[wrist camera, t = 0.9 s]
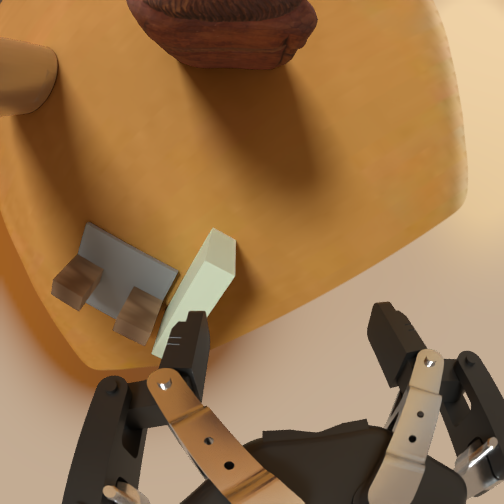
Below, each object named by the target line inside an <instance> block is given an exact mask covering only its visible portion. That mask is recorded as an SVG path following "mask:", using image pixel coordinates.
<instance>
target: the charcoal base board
mask: <svg viewBox="0 0 504 504" xmlns="http://www.w3.org/2000/svg"><path fill="white" fill-rule="evenodd" d="M78 254H79V255H80V256H82V257H84V258H85V259H87V260H89V261H90V262H92V263H94V264H95V265H97V266H99V267H101V268H102V269H104V270H103V273H102V276H101V279H100V283H99V284H98V285H97V287H96V288H95V290H94V291H93V292H92V294H91V295H90V297H89V298H88V299H87V301H86V303H87V304H89V305H91V306H93V307H94V308H96V309H98V310H100V311H101V312H103V313H105V314H107V315H109V316H111V317H112V318H114V319H117V317H118V315H119V313H120V311H121V309H122V307H123V305H124V303H125V302H126V300H127V298H128V296H129V294H130V292H131V291H132V289H133V287H134V286H135V287H137V288H139V289H141V290H143V291H145V292H147V293H149V294H150V295H152V296H154V297H156V298H158V299H160V300H162V301H163V300H164V298H165V296H166V294H167V292H168V290H169V288H170V286H171V284H172V282H173V281H174V279H175V277H176V275H177V273H178V270H176V269H174V268H172V267H170V266H168V265H166V264H164V263H163V262H161V261H159V260H157V259H155V258H153V257H151V256H149V255H148V254H146V253H144V252H142V251H140V250H138V249H136V248H135V247H133V246H131V245H129V244H127V243H125V242H124V241H122V240H120V239H118V238H117V237H115V236H113V235H111V234H109V233H108V232H106V231H104V230H102V229H101V228H99V227H97V226H95V225H94V224H92V223H90V222H87V223H86V226H85V230H84V233H83V237H82V240H81V244H80V248H79V251H78Z"/></svg>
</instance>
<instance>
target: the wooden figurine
mask: <svg viewBox="0 0 504 504" xmlns="http://www.w3.org/2000/svg"><path fill="white" fill-rule="evenodd" d="M126 1H127V4H128V7H129V9H130V11H131V12H132V14H133V16H134V17H135V19H136V20H137V22H138V24H139V25H140V26H141V27H142V29H143V30H144V31H145V33H146V34H147V35H148V36H149V37H150V38H151V39H152V40H154V41H155V42H156V43H157V44H158V45H159V46H160V47H161V48H163V49H164V50H165V51H166V52H167V53H168V54H170V55H171V56H173V57H174V58H176V59H177V60H178V61H180V62H182V63H184V64H187V65H190V66H193V67H197V68H242V69H273V68H275V67H279V66H281V65H284V64H286V63H287V62H288V61H290V60H291V59H292V58H293V56H294V55H295V53H296V51H297V49H300V48H302V47H303V46H304V45H305V44H306V41H307V39H308V37H309V36H310V35H311V33H312V32H313V30H314V29H315V27H316V24H317V20H318V19H317V16H316V13H315V10H314V8H313V7H312V5H311V4H310V3H309V2H308V1H307V0H126Z"/></svg>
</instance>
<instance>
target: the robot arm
mask: <svg viewBox="0 0 504 504" xmlns="http://www.w3.org/2000/svg"><path fill="white" fill-rule="evenodd" d="M57 67H58V65H57V58H56V55H55V53H54V52H53V50H51V49H50V48H48V47H44V46H40V45H36V44H32V43H28V42H23V41H18V40H13V39H7V38H1V37H0V117H1V116H9V115H18V114H27V113H31V112H33V111H35V110H36V109H37V108H39V107H40V106H41V105H42V104H43V103H44V102H45V100H46V99H47V97H48V96H49V94H50V92H51V90H52V88H53V85H54V83H55V80H56V75H57ZM367 335H368V339H369V342H370V344H371V346H372V348H373V350H374V352H375V355H376V357H377V359H378V361H379V364H380V366H381V368H382V370H383V373H384V375H385V377H386V380H387V382H388V384H389V387H390V388H392V387H397V386H399V388H400V391H399V392H398V394H397V398H396V400H395V403H394V405H393V408H392V411H391V413H390V415H389V418H388V420H387V422H386V424H385V426H384V428H382V427H378V426H370V425H368V422H367V419H363V420H359V421H353V422H347V423H342V424H340V425H337V426H335V427H332V428H329V429H327V430H324V431H322V432H317V433H315V432H304V431H296V430H278V431H277V430H276V431H263V438H259V439H256V440H253V441H250V442H248V443H246V444H244V445H243V446H242V445H241V444H240V443H239V442H238V441H237V440H236V439H235V437H234V436H233V435H232V434H231V433H230V432H229V431H228V429H227V428H226V427H225V426H224V425H223V424H222V422H221V421H220V420H219V419H218V418H217V417H216V415H215V414H214V413H213V412H212V411H211V409H210V408H208V407H207V406H205V407H204V406H203V405H202V404H201V402H202V396H203V389H204V383H205V376H206V369H207V362H208V356H209V350H210V334H209V328H208V322H207V316H206V312H205V311H189V312H188V316H187V319H186V321H178V322H177V323H176V325H175V326H174V327H173V328H172V329H171V332H170V335H169V338H168V341H167V345H166V347H165V350H164V353H163V357H162V360H161V363H160V366H159V369H158V370H156V371H154V372H153V373H151V374H150V376H149V377H148V379H147V380H144V381H139V382H133V383H127V382H126V381H125V379H123V378H122V377H119V376H109V377H106V378H104V379H103V380H101V382H100V383H99V384H98V386H97V388H96V391H95V393H94V396H93V399H92V402H91V404H90V407H89V410H88V413H87V416H86V419H85V422H84V425H83V428H82V431H81V434H80V437H79V440H78V444H77V447H76V450H75V453H74V457H73V461H72V464H71V468H70V471H69V475H68V479H67V483H66V488H65V492H64V496H63V501H62V504H150V502H149V500H148V498H147V497H146V496H145V495H144V494H142V493H141V492H139V491H138V484H139V477H140V470H141V463H142V457H143V451H144V446H145V440H146V434H147V429H148V428H151V427H157V426H163V425H168V427H169V428H170V430H171V431H172V433H173V434H174V436H175V437H176V439H177V440H178V442H179V444H180V445H181V446H182V448H183V449H184V451H185V452H186V454H187V455H188V457H189V458H190V460H191V461H192V463H193V464H194V465H195V467H196V468H197V469H198V471H199V472H200V473H201V475H202V476H203V477H204V479H205V481H204V482H203V483H202V484H201V485H200V486H199V487H198V488H197V489H196V490H195V491H194V492H192V493H191V494H190V495H189V496H188V497H187V498H186V499H184V500H183V501H182V502H181V503H180V504H466V500H467V499H469V498H471V497H478V496H480V495H482V494H484V493H486V492H487V491H489V490H490V489H492V488H494V487H495V486H497V485H498V484H500V483H501V482H503V481H504V399H503V397H502V395H501V394H500V392H499V390H498V388H497V386H496V384H495V382H494V381H493V379H492V377H491V376H490V374H489V372H488V371H487V369H486V367H485V366H484V364H483V363H482V361H481V359H480V358H479V356H477V355H476V354H475V353H473V352H471V351H463V352H461V353H460V354H459V356H458V358H457V359H443V357H442V356H441V354H440V353H438V352H437V351H435V350H432V349H427V347H426V346H425V344H424V343H423V341H422V340H421V338H420V336H419V335H418V333H417V332H416V330H415V329H414V327H413V326H412V325H411V323H410V321H409V320H408V318H407V317H406V316H405V315H404V314H403V313H401V312H400V311H396V310H395V309H394V307H393V306H392V304H391V303H390V302H380V303H375V304H374V306H373V308H372V312H371V316H370V320H369V324H368V328H367ZM464 392H466V394H467V396H468V398H469V400H470V402H471V410H470V409H469V406H468V404H467V402H466V400H465V398H464V396H463V394H464ZM439 410H440V412H441V415H442V417H443V420H444V422H445V425H446V427H447V430H448V433H449V436H450V438H451V441H452V444H453V447H454V450H455V453H456V456H457V459H456V462H455V468H454V470H452V469H450V468H448V467H447V466H445V465H443V464H442V463H440V462H438V461H437V460H435V459H433V458H432V457H430V456H429V455H427V454H428V450H429V447H430V444H431V441H432V437H433V433H434V430H435V426H436V423H437V419H438V414H439Z"/></svg>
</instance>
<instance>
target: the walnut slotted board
mask: <svg viewBox="0 0 504 504" xmlns="http://www.w3.org/2000/svg"><path fill="white" fill-rule="evenodd" d="M103 270H104V269H102V268H101V267H99V266H97V265H95V264H94V263H92V262H90V261H89V260H87V259H85V258H84V257H82V256H80V255H79V254H77V255H76V256H75V257H74V258H73V259H72V260H71V261H70V262H69V263H68V264H67V265H66V266H65V267H64V268H63V270H62V271H61V272H60V273H59V274H58V275H57V276H56V277H55V278H54V279H53V284H52V292H51V294H52V295H53V296H55V297H56V298H58V299H60V300H61V301H63V302H64V303H66V304H68V305H69V306H71V307H72V308H74V309H76V310H77V311H80V310H81V308H82V307H83V305H84V304H85V302H86V301H87V299H88V298H89V297H90V295H91V294H92V292H93V291H94V290H95V288H96V287H97V285H98V284H99V283H100V279H101V276H102V273H103ZM162 302H163V301H162V300H160V299H158V298H156V297H154V296H152V295H150V294H149V293H147V292H145V291H143V290H141V289H139V288H137V287H135V286H134V287H133V289H132V291H131V292H130V294H129V296H128V298H127V300H126V302H125V303H124V305H123V307H122V309H121V311H120V313H119V315H118V317H117V319H116V322H115V325H114V328H113V331H115V332H117V333H119V334H121V335H123V336H125V337H127V338H129V339H131V340H133V341H135V342H137V343H139V344H141V345H143V346H145V345H146V343H147V341H148V339H149V337H150V335H151V332H152V329H153V327H154V324H155V321H156V318H157V315H158V313H159V310H160V307H161V304H162Z"/></svg>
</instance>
